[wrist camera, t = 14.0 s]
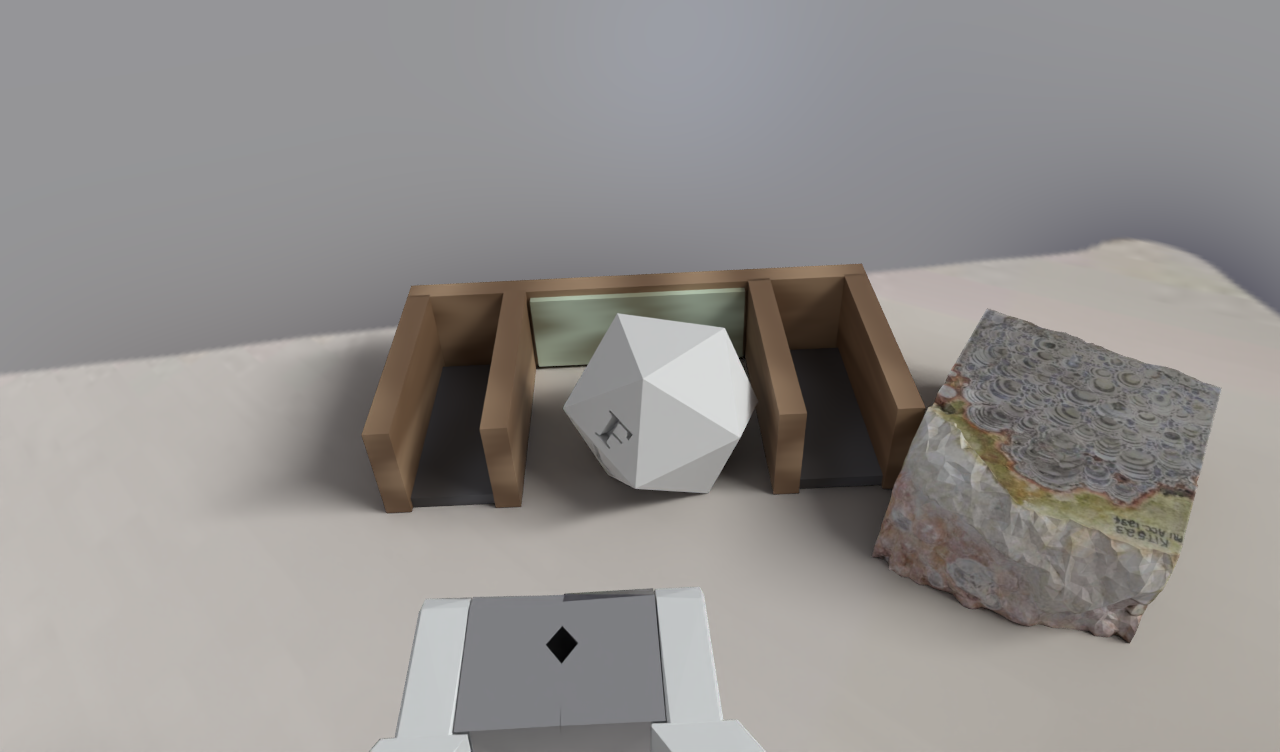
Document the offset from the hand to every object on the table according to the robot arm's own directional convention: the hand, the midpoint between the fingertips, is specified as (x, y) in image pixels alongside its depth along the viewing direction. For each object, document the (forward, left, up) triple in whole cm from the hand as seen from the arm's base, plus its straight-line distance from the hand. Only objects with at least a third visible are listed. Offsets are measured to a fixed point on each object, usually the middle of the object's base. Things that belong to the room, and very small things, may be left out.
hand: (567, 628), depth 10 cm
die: (+2, +25, -22) cm, 34 cm away
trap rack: (+1, +29, -22) cm, 36 cm away
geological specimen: (+19, +22, -23) cm, 37 cm away
